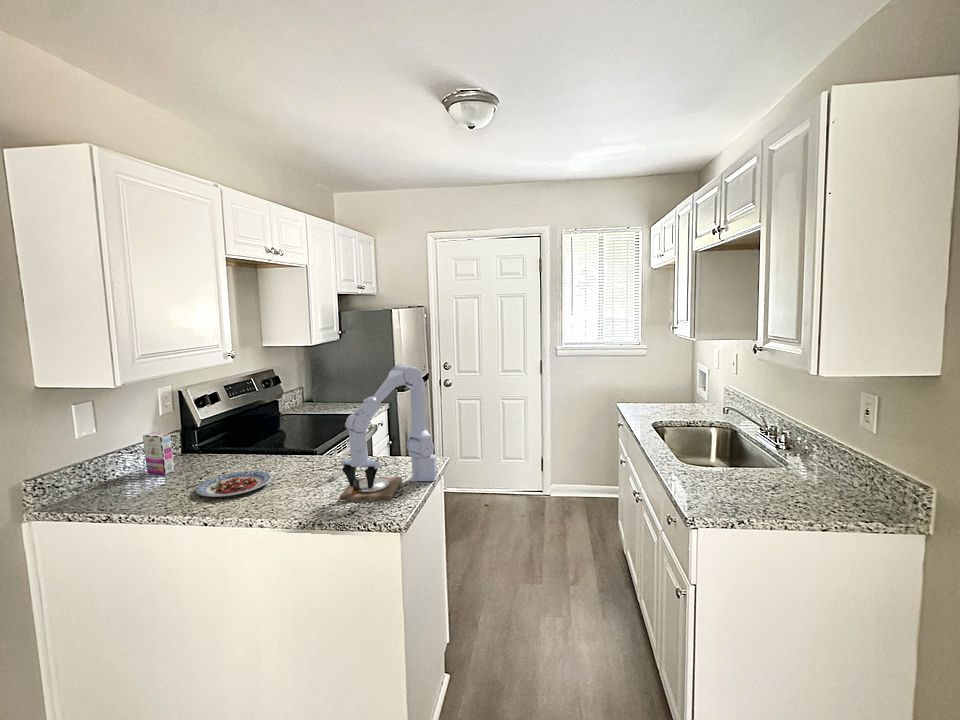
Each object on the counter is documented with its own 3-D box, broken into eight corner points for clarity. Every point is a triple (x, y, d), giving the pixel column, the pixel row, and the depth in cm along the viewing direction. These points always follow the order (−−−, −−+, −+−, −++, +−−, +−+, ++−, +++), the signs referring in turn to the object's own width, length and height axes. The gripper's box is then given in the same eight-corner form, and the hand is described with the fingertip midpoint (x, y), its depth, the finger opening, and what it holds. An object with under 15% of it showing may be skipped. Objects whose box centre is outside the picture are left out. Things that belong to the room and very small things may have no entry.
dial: (375, 478, 196) (374, 465, 195) (395, 485, 188) (394, 471, 187) (343, 489, 186) (342, 476, 185) (363, 497, 178) (362, 483, 177)
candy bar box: (176, 471, 219) (171, 433, 216) (165, 475, 214) (160, 436, 212) (157, 469, 223) (153, 431, 221) (146, 473, 218) (141, 434, 216)
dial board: (402, 481, 196) (401, 476, 196) (391, 500, 178) (391, 495, 178) (355, 482, 197) (354, 477, 197) (339, 501, 179) (339, 496, 179)
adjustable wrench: (333, 483, 199) (333, 478, 198) (319, 481, 201) (319, 477, 201) (369, 461, 222) (369, 457, 222) (356, 460, 224) (356, 456, 224)
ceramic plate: (286, 478, 206) (285, 470, 205) (239, 504, 181) (239, 495, 181) (231, 474, 213) (230, 467, 212) (179, 499, 188) (178, 491, 188)
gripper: (334, 450, 179) (337, 488, 180) (370, 453, 174) (373, 492, 175) (346, 444, 185) (349, 481, 187) (381, 447, 180) (384, 485, 182)
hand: (361, 486), depth 182 cm, fingers open, 7 cm apart
